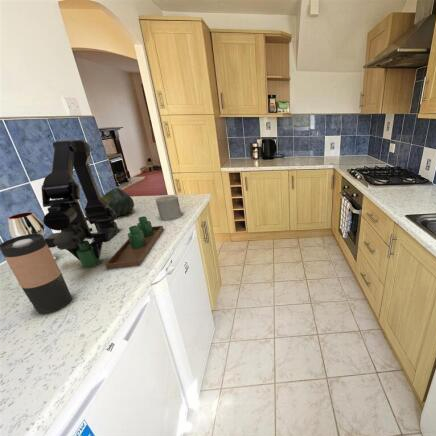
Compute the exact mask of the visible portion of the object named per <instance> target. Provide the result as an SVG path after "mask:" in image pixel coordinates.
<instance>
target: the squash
mask: <svg viewBox="0 0 436 436" xmlns="http://www.w3.org/2000/svg"><path fill="white" fill-rule="evenodd" d="M100 197H101V198H102V199H103V200H105V201H106V202H107V203H108V205H109V207H111V209H112V210H113V211H114V212H115V214H116V216H117V217H120V216H126V215H130V214H131V213H132V212H133V210H134V208H135V203H134V200H133V198H132V196H130V195H129V194H128V193H127V192H126V191H124V190H122V189H121V188H119V187H115V188H112V189H110V190H108V192H106V193H105V194H103V195H102V196H100Z"/></svg>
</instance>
